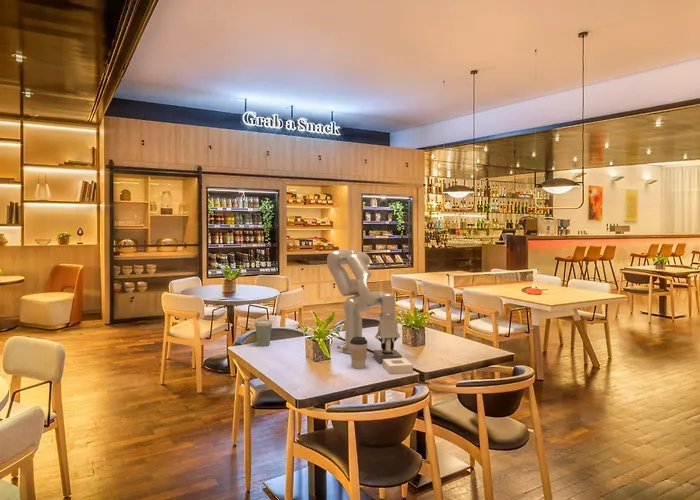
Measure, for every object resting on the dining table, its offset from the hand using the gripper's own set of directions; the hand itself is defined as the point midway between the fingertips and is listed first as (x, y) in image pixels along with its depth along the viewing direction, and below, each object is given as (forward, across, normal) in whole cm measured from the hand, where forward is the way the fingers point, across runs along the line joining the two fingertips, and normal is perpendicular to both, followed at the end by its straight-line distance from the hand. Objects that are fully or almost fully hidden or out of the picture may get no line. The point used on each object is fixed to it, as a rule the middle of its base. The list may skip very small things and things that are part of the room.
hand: (387, 349), depth 263 cm
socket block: (+6, 0, -17) cm, 18 cm away
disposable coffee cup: (+6, -64, +43) cm, 77 cm away
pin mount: (+6, 0, 0) cm, 6 cm away
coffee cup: (+6, -18, -8) cm, 21 cm away
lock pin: (+6, 0, 0) cm, 6 cm away
